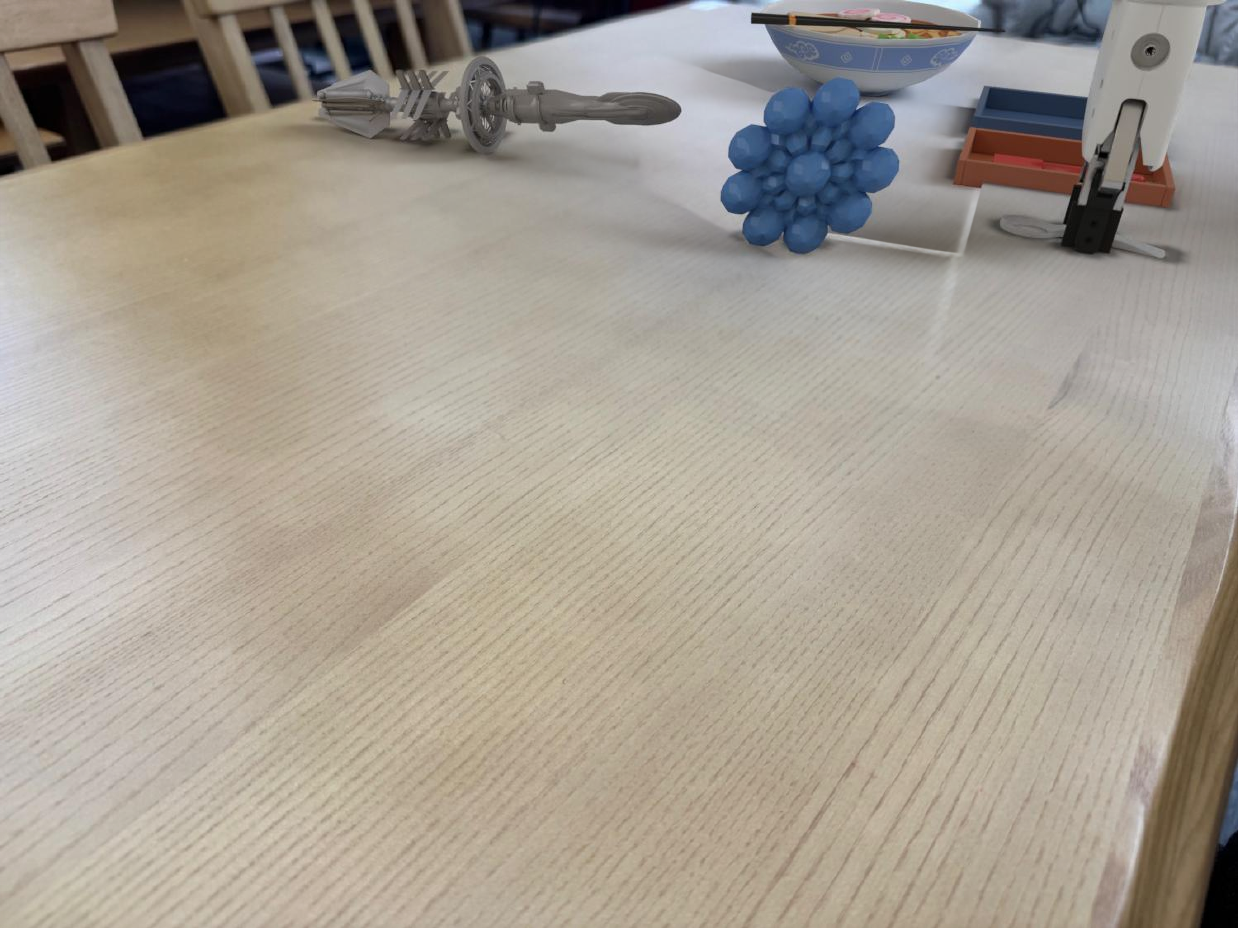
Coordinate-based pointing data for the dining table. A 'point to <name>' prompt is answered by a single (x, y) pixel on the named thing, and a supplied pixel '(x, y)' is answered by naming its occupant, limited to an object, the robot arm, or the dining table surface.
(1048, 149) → the terracotta tray
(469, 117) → the spaceship
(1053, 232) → the spoon
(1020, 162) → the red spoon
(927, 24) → the ramen bowl
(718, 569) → the dining table surface
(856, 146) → the blue beaded flower
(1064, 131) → the blue tray
